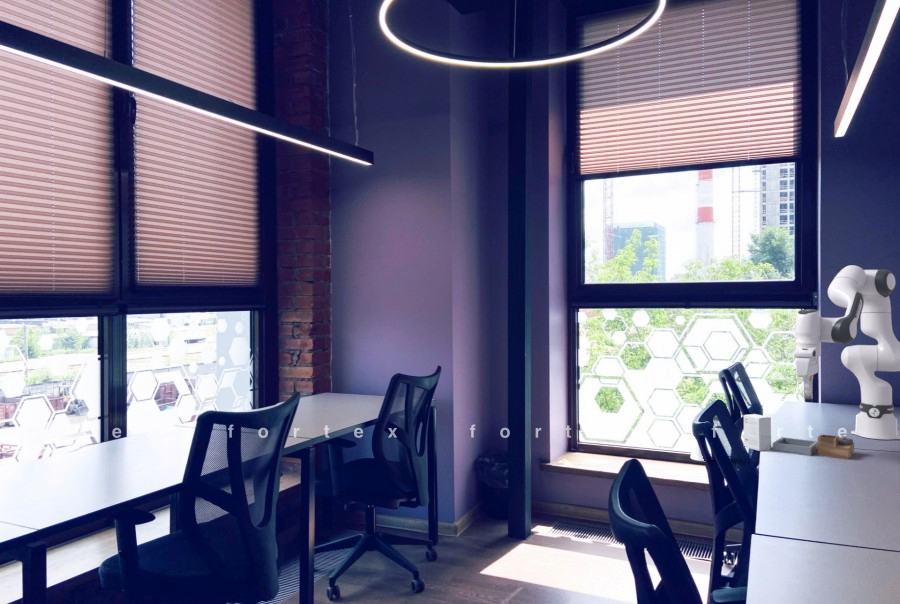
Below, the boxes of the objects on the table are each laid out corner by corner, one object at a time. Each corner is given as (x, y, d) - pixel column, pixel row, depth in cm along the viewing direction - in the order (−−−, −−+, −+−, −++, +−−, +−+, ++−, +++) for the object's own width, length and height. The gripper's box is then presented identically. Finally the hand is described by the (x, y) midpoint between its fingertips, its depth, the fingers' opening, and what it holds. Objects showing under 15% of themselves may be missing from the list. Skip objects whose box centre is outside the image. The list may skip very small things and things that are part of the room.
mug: (709, 464, 236) (709, 431, 236) (685, 461, 241) (685, 429, 240) (717, 457, 245) (716, 426, 245) (693, 454, 250) (693, 423, 250)
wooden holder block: (824, 449, 256) (824, 431, 256) (854, 453, 249) (854, 435, 249) (817, 455, 247) (817, 437, 247) (848, 459, 240) (848, 440, 240)
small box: (771, 449, 256) (771, 417, 256) (759, 451, 254) (758, 418, 254) (755, 445, 264) (755, 413, 264) (743, 447, 262) (743, 414, 262)
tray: (782, 444, 265) (782, 437, 265) (818, 449, 256) (818, 441, 256) (773, 450, 255) (772, 442, 255) (810, 455, 246) (810, 447, 246)
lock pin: (805, 397, 254) (804, 374, 254) (813, 398, 252) (813, 375, 252) (803, 398, 252) (803, 375, 252) (811, 399, 250) (811, 376, 250)
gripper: (804, 349, 262) (804, 383, 262) (792, 352, 246) (793, 389, 246) (822, 349, 258) (822, 384, 258) (811, 353, 242) (811, 390, 242)
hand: (808, 386), depth 252 cm, fingers closed on lock pin, 3 cm apart
